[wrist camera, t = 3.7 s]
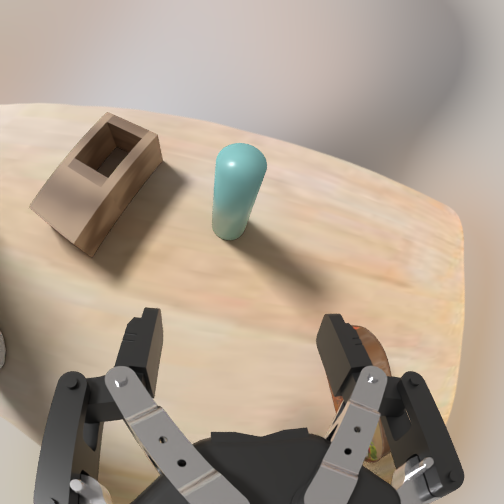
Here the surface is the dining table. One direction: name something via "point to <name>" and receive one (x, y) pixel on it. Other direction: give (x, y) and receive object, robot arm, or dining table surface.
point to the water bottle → (2, 350)
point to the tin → (379, 359)
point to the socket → (97, 182)
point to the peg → (236, 188)
